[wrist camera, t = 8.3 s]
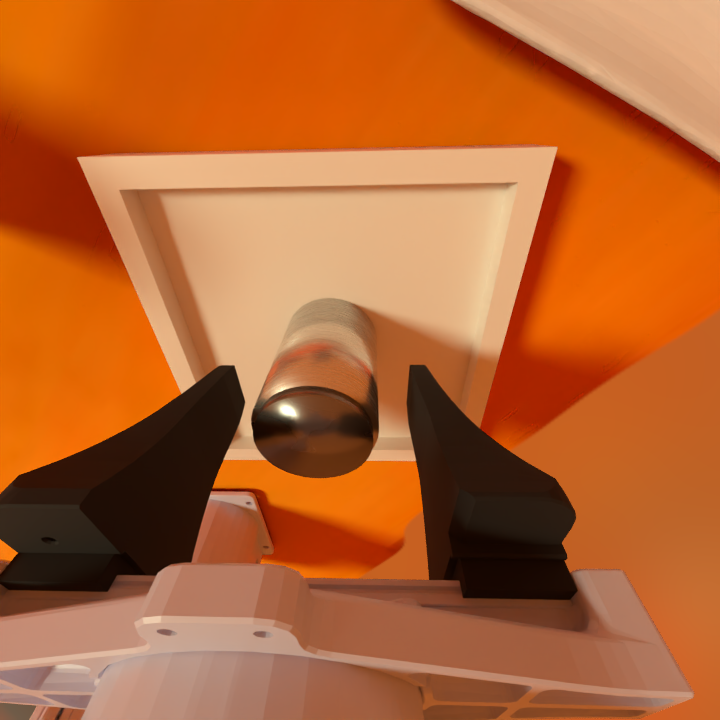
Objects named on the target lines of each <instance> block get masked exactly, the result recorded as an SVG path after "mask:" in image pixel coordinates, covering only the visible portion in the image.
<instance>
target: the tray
mask: <svg viewBox="0 0 720 720" xmlns="http://www.w3.org/2000/svg"><path fill="white" fill-rule="evenodd" d="M557 148H558V147H554V146H544V145H534V144H528V145H482V146H436V147H390V148H344V149H298V150H251V151H205V152H159V153H114V154H104V155H94V156H84V157H77V159H78V161H79V163H80V165H81V168H82V170H83V172H84V174H85V177H86V179H87V181H88V183H89V186H90V188H91V190H92V192H93V195H94V197H95V199H96V201H97V204H98V206H99V208H100V211H101V213H102V215H103V217H104V220H105V222H106V224H107V226H108V229H109V231H110V233H111V235H112V238H113V240H114V242H115V244H116V247H117V249H118V251H119V253H120V256H121V258H122V260H123V263H124V265H125V267H126V269H127V272H128V274H129V276H130V278H131V281H132V283H133V285H134V287H135V290H136V292H137V294H138V296H139V299H140V301H141V303H142V305H143V308H144V310H145V312H146V315H147V317H148V319H149V321H150V324H151V326H152V328H153V330H154V333H155V335H156V337H157V339H158V342H159V344H160V346H161V348H162V351H163V353H164V355H165V357H166V360H167V362H168V364H169V366H170V369H171V371H172V373H173V376H174V378H175V380H176V382H177V385H178V387H179V389H180V391H181V394H182V393H183V392H185V391H186V390H187V389H189V388H190V387H191V386H193V385H194V384H195V383H197V382H198V381H199V380H201V379H202V378H203V377H205V376H206V375H207V374H208V373H210V372H211V371H212V370H214V369H215V368H217V367H218V366H220V365H235V369H236V372H237V375H238V379H239V382H240V386H241V389H242V392H243V396H244V399H245V406H244V410H243V414H242V417H241V420H240V424H239V426H238V428H237V431H236V433H235V435H234V437H233V440H232V442H231V444H230V446H229V449H228V451H227V453H226V455H225V457H224V460H266V459H265V458H264V457H263V456H262V454H261V453H260V452H259V450H258V449H257V447H256V445H255V443H254V439H253V430H252V425H251V416H252V412H253V409H254V406H255V404H256V402H257V399H258V397H259V394H260V392H261V390H262V387H263V385H264V382H265V380H266V377H267V375H268V373H269V370H270V368H271V365H272V363H273V361H274V358H275V356H276V353H277V351H278V349H279V346H280V344H281V341H282V339H283V337H284V334H285V332H286V329H287V327H288V325H289V322H290V320H291V318H292V316H293V315H294V313H295V312H296V311H297V310H298V309H299V308H300V307H302V306H303V305H305V304H306V303H308V302H310V301H313V300H316V299H322V298H336V299H342V300H345V301H348V302H350V303H353V304H354V305H356V306H358V307H359V308H360V309H362V310H363V311H364V312H365V313H366V314H367V315H368V317H369V318H370V319H371V321H372V323H373V325H374V328H375V331H376V342H377V376H378V410H379V436H378V439H377V442H376V444H375V446H374V448H373V449H372V452H371V454H370V456H369V457H368V459H367V460H366V461H416V458H415V453H414V448H413V444H412V439H411V434H410V429H409V425H408V415H407V403H406V402H407V390H408V379H409V367H410V365H426V366H427V368H428V369H429V371H430V372H431V374H432V375H433V377H434V378H435V379H436V381H437V382H438V384H439V385H440V386H441V388H442V389H443V390H444V391H445V393H446V394H447V395H448V396H449V397H450V399H451V400H452V401H453V402H454V403H455V404H456V406H457V407H458V408H459V409H460V410H461V411H462V412H463V413H464V414H465V415H466V416H467V417H468V418H469V419H470V420H471V421H472V422H473V423H474V424H475V425H476V426H477V427H479V428H480V426H481V422H482V419H483V415H484V411H485V408H486V404H487V401H488V397H489V393H490V390H491V386H492V382H493V379H494V375H495V372H496V368H497V364H498V361H499V357H500V354H501V350H502V346H503V343H504V339H505V336H506V332H507V328H508V325H509V321H510V317H511V314H512V310H513V307H514V303H515V299H516V296H517V292H518V289H519V285H520V281H521V278H522V274H523V271H524V267H525V263H526V260H527V256H528V252H529V249H530V245H531V242H532V238H533V234H534V231H535V227H536V224H537V220H538V216H539V213H540V209H541V206H542V202H543V198H544V195H545V191H546V188H547V184H548V180H549V177H550V173H551V169H552V166H553V162H554V159H555V155H556V151H557Z"/></svg>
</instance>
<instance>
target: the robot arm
mask: <svg viewBox="0 0 720 720" xmlns="http://www.w3.org/2000/svg"><path fill="white" fill-rule="evenodd" d="M406 403H407V415H408V425H409V429H410V434H411V439H412V444H413V448H414V453H415V458H416V462H417V467H418V472H419V478H420V485H421V494H422V504H423V513H424V523H425V534H426V544H427V557H428V569H429V580H395V579H394V580H392V579H391V580H389V579H332V578H304V577H303V576H302V575H301V574H300V573H299V572H298V571H295V570H293V569H291V568H288V567H286V566H280V565H273V564H260V563H261V559H262V555H271V554H273V552H274V547H273V544H272V541H271V538H270V535H269V533H268V530H267V527H266V524H265V521H264V518H263V516H262V513H261V510H260V507H259V504H258V501H257V499H256V496H255V494H254V493H252V492H233V491H211V490H212V487H213V484H214V481H215V478H216V476H217V473H218V471H219V469H220V466H221V464H222V462H223V460H224V457H225V455H226V453H227V451H228V449H229V446H230V444H231V442H232V440H233V437H234V435H235V433H236V431H237V428H238V426H239V424H240V420H241V417H242V414H243V410H244V406H245V399H244V396H243V392H242V389H241V386H240V382H239V379H238V375H237V372H236V369H235V365H220V366H218V367H217V368H215V369H214V370H212V371H211V372H210V373H208V374H207V375H206V376H205V377H203V378H202V379H201V380H199V381H198V382H197V383H195V384H194V385H193V386H191V387H190V388H189V389H187V390H186V391H185V392H183V393H182V394H181V395H179V396H178V397H177V398H175V399H174V400H172V401H171V402H169V403H168V404H166V405H165V406H164V407H162V408H161V409H159V410H158V411H156V412H155V413H153V414H152V415H150V416H148V417H147V418H145V419H143V420H142V421H140V422H138V423H137V424H135V425H133V426H131V427H130V428H128V429H126V430H124V431H122V432H120V433H118V434H116V435H114V436H112V437H110V438H108V439H106V440H105V441H103V442H101V443H98V444H96V445H94V446H92V447H90V448H88V449H85V450H83V451H81V452H78V453H76V454H74V455H71V456H69V457H67V458H64V459H62V460H59V461H57V462H54V463H51V464H49V465H46V466H43V467H40V468H38V469H35V470H32V471H30V472H27V473H24V474H21V475H19V476H18V477H17V478H16V479H15V480H14V481H13V482H12V483H11V484H10V485H9V486H8V487H7V488H6V489H5V490H4V491H3V492H2V493H1V494H0V539H1V540H2V541H4V542H5V543H6V544H7V545H9V546H10V547H11V548H13V549H14V550H15V551H17V552H19V553H18V554H17V555H16V556H15V557H14V559H13V560H12V561H11V562H10V563H7V562H3V561H0V702H1V703H14V704H27V705H37V707H36V709H35V711H34V712H33V714H32V716H31V717H30V719H29V720H523V719H559V718H622V719H640V718H643V717H645V716H648V715H651V714H653V713H656V712H658V711H661V710H663V709H666V708H669V707H671V706H673V705H676V704H678V703H681V702H684V701H686V700H689V699H691V698H693V696H694V691H693V690H692V688H691V686H690V685H689V683H688V681H687V679H686V678H685V676H684V674H683V672H682V671H681V669H680V667H679V665H678V664H677V662H676V660H675V659H674V657H673V655H672V653H671V652H670V650H669V648H668V646H667V645H666V643H665V641H664V640H663V638H662V636H661V634H660V633H659V631H658V629H657V628H656V626H655V624H654V622H653V621H652V619H651V617H650V615H649V614H648V612H647V610H646V608H645V607H644V605H643V603H642V602H641V600H640V598H639V596H638V595H637V593H636V591H635V589H634V588H633V586H632V584H631V583H630V581H629V579H628V577H627V576H626V574H625V572H624V571H622V570H619V569H579V570H575V571H572V572H571V573H570V572H569V570H568V568H567V566H566V563H565V561H564V560H566V559H567V554H566V552H565V549H564V547H563V545H562V541H563V540H564V538H565V537H566V535H567V534H568V532H569V531H570V530H571V528H572V526H573V524H574V522H575V519H576V514H575V510H574V509H573V507H572V505H571V503H570V501H569V499H568V497H567V496H566V494H565V493H564V491H563V489H562V488H561V486H560V485H559V483H558V482H557V480H556V479H555V478H553V477H551V476H550V475H548V474H546V473H544V472H543V471H541V470H539V469H537V468H535V467H534V466H532V465H530V464H528V463H527V462H525V461H524V460H522V459H520V458H519V457H517V456H516V455H514V454H513V453H511V452H510V451H508V450H507V449H506V448H504V447H503V446H501V445H500V444H499V443H497V442H496V441H495V440H493V439H492V438H491V437H489V436H488V435H487V434H486V433H484V432H483V431H482V430H481V429H480V428H479V427H477V426H476V425H475V424H474V423H473V422H472V421H471V420H470V419H469V418H468V417H467V416H466V415H465V414H464V413H463V412H462V411H461V410H460V409H459V408H458V407H457V406H456V404H455V403H454V402H453V401H452V400H451V399H450V397H449V396H448V395H447V394H446V393H445V391H444V390H443V389H442V388H441V386H440V385H439V384H438V382H437V381H436V379H435V378H434V377H433V375H432V374H431V372H430V371H429V369H428V368H427V366H426V365H410V367H409V379H408V390H407V402H406Z"/></svg>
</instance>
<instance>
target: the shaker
mask: <svg viewBox="0 0 720 720" xmlns="http://www.w3.org/2000/svg"><path fill="white" fill-rule="evenodd" d="M251 425H252V430H253V439H254V443H255V445H256V447H257V449H258V450H259V452H260V453H261V454H262V456H263V457H264V458H265V459H266V460H268V461H269V462H270V463H272V464H273V465H275V466H276V467H278V468H280V469H282V470H284V471H286V472H289V473H292V474H295V475H299V476H303V477H310V478H329V477H336V476H340V475H344V474H347V473H349V472H351V471H353V470H355V469H357V468H358V467H360V466H361V465H362V464H363V463H364V462H365V461H366V460H367V459H368V457H369V456H370V454H371V452H372V449H373V448H374V446H375V444H376V442H377V439H378V436H379V410H378V376H377V342H376V331H375V328H374V325H373V323H372V321H371V319H370V318H369V317H368V315H367V314H366V313H365V312H364V311H363V310H362V309H360V308H359V307H358V306H356V305H354V304H353V303H350V302H348V301H345V300H342V299H336V298H322V299H316V300H313V301H310V302H308V303H306V304H305V305H303V306H302V307H300V308H299V309H298V310H297V311H296V312H295V313H294V315H293V316H292V318H291V320H290V322H289V325H288V327H287V329H286V332H285V334H284V337H283V339H282V341H281V344H280V346H279V349H278V351H277V353H276V356H275V358H274V361H273V363H272V365H271V368H270V370H269V373H268V375H267V377H266V380H265V382H264V385H263V387H262V390H261V392H260V394H259V397H258V399H257V402H256V404H255V406H254V409H253V412H252V416H251Z"/></svg>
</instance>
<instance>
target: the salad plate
mask: <svg viewBox="0 0 720 720" xmlns="http://www.w3.org/2000/svg"><path fill="white" fill-rule="evenodd" d="M452 1H453V2H455V3H457V4H458V5H460V6H462V7H463V8H465V9H466V10H468V11H470V12H472V13H473V14H475V15H477V16H479V17H481V18H483V19H485V20H487V21H489V22H491V23H492V24H494V25H496V26H498V27H499V28H501V29H503V30H504V31H506V32H508V33H509V34H511V35H513V36H515V37H516V38H518V39H520V40H522V41H523V42H525V43H527V44H529V45H530V46H532V47H534V48H536V49H537V50H539V51H541V52H543V53H544V54H546V55H548V56H550V57H551V58H553V59H555V60H557V61H558V62H560V63H562V64H564V65H565V66H567V67H569V68H570V69H572V70H574V71H575V72H577V73H579V74H580V75H582V76H584V77H585V78H587V79H589V80H590V81H592V82H594V83H595V84H597V85H599V86H600V87H602V88H604V89H605V90H607V91H609V92H610V93H612V94H614V95H615V96H617V97H619V98H620V99H622V100H623V101H625V102H627V103H628V104H630V105H632V106H633V107H635V108H637V109H638V110H640V111H642V112H643V113H645V114H646V115H648V116H650V117H651V118H653V119H655V120H656V121H658V122H660V123H661V124H663V125H664V126H666V127H667V128H669V129H671V130H672V131H674V132H675V133H677V134H678V135H680V136H681V137H683V138H684V139H686V140H687V141H689V142H690V143H692V144H693V145H695V146H696V147H698V148H699V149H701V150H702V151H704V152H705V153H707V154H708V155H710V156H711V157H712V158H714V159H715V160H717V161H718V162H720V0H452Z"/></svg>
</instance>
